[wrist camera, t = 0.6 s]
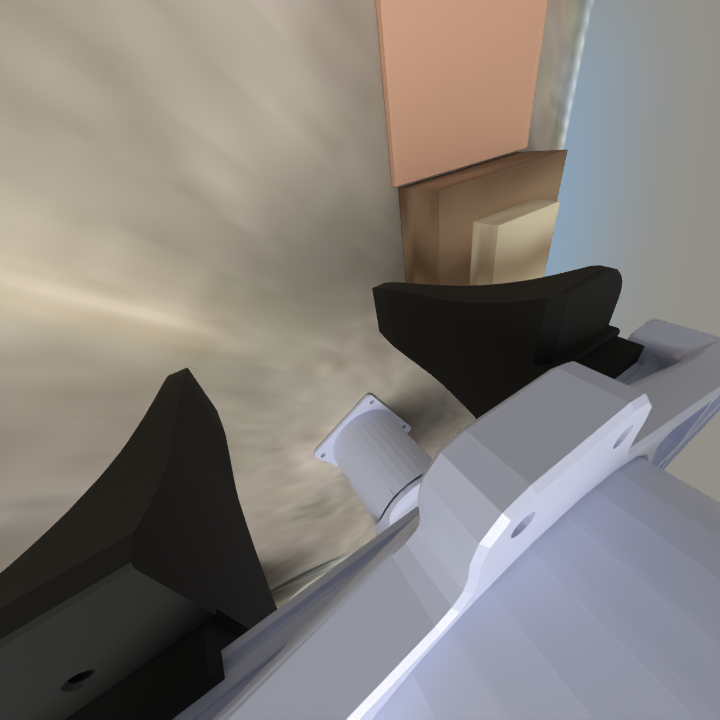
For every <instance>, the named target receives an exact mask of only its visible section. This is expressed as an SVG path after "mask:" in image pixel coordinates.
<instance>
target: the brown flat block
mask: <svg viewBox="0 0 720 720" xmlns="http://www.w3.org/2000/svg"><path fill="white" fill-rule="evenodd" d="M566 155H567V150H550V151H530V152H517V153H513V154H510V155H507V156H503V157H500V158H497V159H493V160H490V161H487V162H483V163H480V164H477V165H473V166H470V167H467V168H464V169H460V170H457V171H454V172H450V173H447V174H444V175H440V176H437V177H434V178H430V179H427V180H424V181H420V182H417V183H414V184H410V185H407V186H404V187H400V188H398V189H399V202H400V215H401V228H402V241H403V254H404V267H405V279H406V283H416V284H430V285H454V286H470V272H471V255H472V239H473V222H474V221H477V220H480V219H482V218H485V217H487V216H490V215H493V214H495V213H498V212H500V211H503V210H506V209H508V208H511V207H514V206H516V205H519V204H521V203H524V202H527V201H529V200H532V199H540V200H553V201H557V197H558V193H559V188H560V183H561V179H562V174H563V169H564V164H565V160H566Z"/></svg>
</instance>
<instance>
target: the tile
mask: <svg viewBox="0 0 720 720" xmlns="http://www.w3.org/2000/svg"><path fill="white" fill-rule="evenodd" d="M559 204H560V201H553V200H540V199H532V200H529V201H527V202H524V203H521V204H519V205H516V206H514V207H511V208H508V209H506V210H503V211H500V212H498V213H495V214H493V215H490V216H487V217H485V218H482V219H480V220H477V221H474V222H473V239H472V255H471V272H470V285H490V284H501V283H509V282H518V281H524V280H530V279H536V278H541V277H544V274H545V269H546V264H547V260H548V255H549V250H550V246H551V241H552V237H553V232H554V227H555V223H556V218H557V213H558V208H559Z"/></svg>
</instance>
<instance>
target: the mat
mask: <svg viewBox="0 0 720 720" xmlns="http://www.w3.org/2000/svg"><path fill="white" fill-rule="evenodd" d="M547 3H548V0H376V10H377V21H378V32H379V44H380V55H381V66H382V77H383V89H384V100H385V111H386V123H387V134H388V145H389V157H390V168H391V179H392V187H397V186H400V185H404V184H407V183H410V182H414V181H417V180H420V179H424V178H427V177H430V176H434V175H437V174H440V173H444V172H447V171H450V170H454V169H457V168H461V167H464V166H467V165H471V164H474V163H477V162H481V161H484V160H487V159H491V158H494V157H497V156H501V155H504V154H507V153H511V152H514V151H518V150H521V149H524V148H527V144H528V137H529V130H530V123H531V116H532V109H533V101H534V94H535V87H536V80H537V73H538V66H539V59H540V52H541V45H542V38H543V31H544V24H545V17H546V10H547Z"/></svg>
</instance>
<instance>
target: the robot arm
mask: <svg viewBox="0 0 720 720" xmlns="http://www.w3.org/2000/svg"><path fill="white" fill-rule="evenodd" d="M621 287H622V277H621V274H620V272H619V271H618V270H617V269H614V268H609V267H605V266H589V267H585V268H581V269H577V270H573V271H569V272H564V273H560V274H556V275H552V276H546V277H541V278H536V279H530V280H524V281H518V282H509V283H501V284H490V285H470V286H454V285H430V284H416V283H399V282H389V283H384V284H381V285H379V286H377V287H374V288H372V289H373V295H374V301H375V307H376V313H377V319H378V325H379V331H380V332H381V334H382V335H383V336H384V337H385V338H386V339H387V340H388V341H389V342H390V343H391V344H392V345H393V346H394V347H395V348H396V349H398V350H399V351H400V352H402V353H403V354H404V355H406V356H407V357H408V358H410V359H411V360H412V361H414V362H415V363H416V364H418V365H419V366H420V367H422V368H423V369H424V370H426V371H427V372H428V373H430V374H431V375H432V376H433V377H435V378H436V379H437V380H438V381H439V382H440V383H442V384H443V385H444V386H445V387H446V388H447V389H448V390H449V391H450V392H451V393H452V394H453V395H454V396H455V397H456V398H457V399H458V400H459V401H460V402H461V403H462V404H463V405H464V406H465V407H466V408H467V409H468V410H469V411H470V412H471V413H472V414H473V416H474V417H475V418H476V420H475V421H473V422H472V423H470V424H469V425H467V426H466V427H464V428H463V429H461V430H460V431H459V432H458V433H457V434H456V435H455V436H453V437H452V438H451V439H450V440H449V441H448V442H447V443H446V444H444V445H443V446H442V447H441V448H440V449H439V450H438V451H437V453H436V454H435V456H434V457H433V459H432V458H431V457H430V456H429V455H428V454H427V453H426V452H425V451H424V450H423V449H422V448H421V447H420V446H419V445H418V444H417V443H416V442H415V441H414V440H413V439H412V438H411V437H410V436H409V435H408V434H407V433H408V432H409V431H410V430H411V427H410V426H409V425H408V424H407V423H406V422H405V421H403V420H402V419H401V418H400V417H398V416H397V415H396V414H395V413H394V412H392V411H391V410H390V409H389V408H387V407H386V406H385V405H384V404H383V403H381V402H380V401H379V400H378V399H376V398H375V397H374V396H373V395H371V394H366V395H365V396H364V397H363V398H362V399H361V400H360V402H359V403H358V404H357V405H356V406H355V407H354V408H353V409H352V410H351V411H350V412H349V414H348V415H347V416H346V417H345V418H344V419H343V420H342V421H341V422H340V423H339V424H338V426H337V427H336V428H335V429H334V430H333V431H332V432H331V433H330V434H329V435H328V436H327V437H326V439H325V440H324V441H323V442H322V443H321V444H320V445H319V446H318V447H317V448H316V449H315V451H314V456H315V457H316V458H318V459H321V460H323V461H325V462H328V463H330V464H332V465H335V466H337V467H339V468H341V470H342V472H343V473H344V475H345V476H346V478H347V480H348V481H349V483H350V484H351V486H352V488H353V489H354V491H355V492H356V494H357V496H358V497H359V499H360V500H361V502H362V503H363V505H364V507H365V508H366V510H367V511H368V513H369V515H370V516H371V518H372V519H373V521H374V523H375V524H376V525H375V526H374V528H373V529H374V531H375V532H376V534H377V536H376V537H375V538H373V539H372V540H371V541H369V542H368V543H367V544H365V545H364V546H363V547H361V548H360V549H358V550H357V551H356V552H354V553H353V554H352V555H350V556H349V557H348V558H346V559H345V560H344V561H342V562H341V563H339V564H338V565H337V566H335V567H334V568H333V569H331V570H330V571H329V572H327V573H326V574H325V575H323V576H322V577H320V578H319V579H318V580H316V581H315V582H314V583H312V584H311V585H310V586H308V587H307V588H306V589H304V590H303V591H302V592H300V593H299V594H297V595H296V596H295V597H294V598H292V599H291V600H289V601H288V602H287V603H285V604H284V605H282V606H281V607H280V608H278V609H277V607H276V605H275V602H274V600H273V597H272V594H271V592H270V589H269V587H268V584H267V581H266V578H265V576H264V573H263V570H262V567H261V564H260V562H259V559H258V556H257V553H256V550H255V548H254V545H253V542H252V539H251V536H250V533H249V530H248V527H247V524H246V521H245V518H244V515H243V512H242V509H241V506H240V502H239V499H238V495H237V491H236V487H235V482H234V477H233V471H232V466H231V461H230V456H229V450H228V445H227V440H226V435H225V432H224V429H223V426H222V423H221V420H220V418H219V415H218V412H217V410H216V409H215V407H214V406H213V404H212V403H211V401H210V400H209V398H208V397H207V395H206V394H205V392H204V391H203V390H202V388H201V387H200V385H199V384H198V382H197V381H196V379H195V378H194V376H193V375H192V373H191V372H190V371H189V369H188V368H185V369H183V370H181V371H178V372H176V373H174V374H171V375H169V376H168V377H167V378H166V380H165V381H164V383H163V385H162V387H161V388H160V390H159V392H158V394H157V396H156V397H155V399H154V401H153V403H152V404H151V406H150V408H149V409H148V411H147V413H146V415H145V416H144V418H143V419H142V421H141V422H140V424H139V426H138V427H137V429H136V430H135V432H134V433H133V435H132V436H131V438H130V439H129V441H128V442H127V444H126V445H125V446H124V448H123V449H122V450H121V452H120V453H119V454H118V456H117V457H116V458H115V459H114V461H113V462H112V463H111V464H110V466H109V467H108V468H107V469H106V470H105V472H104V473H103V474H102V475H101V476H100V477H99V479H98V480H97V481H96V482H95V483H94V484H93V485H92V486H91V487H90V488H89V489H88V490H87V491H86V493H85V494H84V495H83V496H82V497H81V498H80V499H79V500H78V501H77V502H76V503H75V504H74V505H73V507H72V508H71V509H70V510H69V511H68V512H67V513H66V514H65V515H64V516H63V517H62V518H61V519H60V520H58V521H57V522H56V523H55V524H54V525H53V526H52V527H51V528H50V529H49V530H48V531H47V532H46V533H45V534H44V535H43V536H42V537H41V538H40V539H38V540H37V541H36V542H35V543H34V544H33V545H32V546H31V547H30V548H29V549H28V550H27V551H25V552H24V553H23V554H22V555H21V556H20V557H19V558H18V559H16V560H15V561H14V562H13V563H12V564H11V565H10V566H8V567H7V568H6V569H5V570H4V571H2V572H1V573H0V720H720V503H719V502H717V501H716V500H714V499H713V498H711V497H709V496H707V495H706V494H704V493H702V492H700V491H699V490H697V489H695V488H693V487H692V486H690V485H689V484H687V483H685V482H683V481H682V480H679V479H678V478H677V477H675V476H673V475H671V474H670V473H668V472H666V471H665V470H664V469H665V468H666V467H667V466H668V465H669V464H670V462H671V461H672V460H673V459H674V458H675V457H676V456H677V455H678V454H679V453H680V452H681V451H682V449H683V448H684V447H685V446H686V445H687V444H688V443H689V442H690V441H691V440H692V439H693V438H694V437H695V436H696V435H697V434H698V433H699V432H700V431H701V430H702V429H703V428H704V427H705V426H706V425H707V424H708V423H709V421H710V420H711V419H712V418H713V417H714V416H715V415H716V414H717V413H718V412H719V410H720V337H718V336H714V335H711V334H708V333H704V332H701V331H697V330H694V329H690V328H687V327H683V326H680V325H676V324H673V323H669V322H666V321H662V320H659V319H656V318H654V319H651V320H650V321H648V322H647V323H646V324H644V325H643V326H641V327H640V328H639V329H637V330H636V331H634V332H633V333H632V334H631V336H630V337H629V338H628V340H626V339H624V338H621V337H618V336H617V335H618V334H619V332H620V330H619V329H618V328H616V327H613V326H610V325H609V322H610V320H611V317H612V314H613V312H614V309H615V306H616V304H617V301H618V298H619V295H620V292H621ZM371 400H372V401H371ZM370 401H371V402H370Z"/></svg>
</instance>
